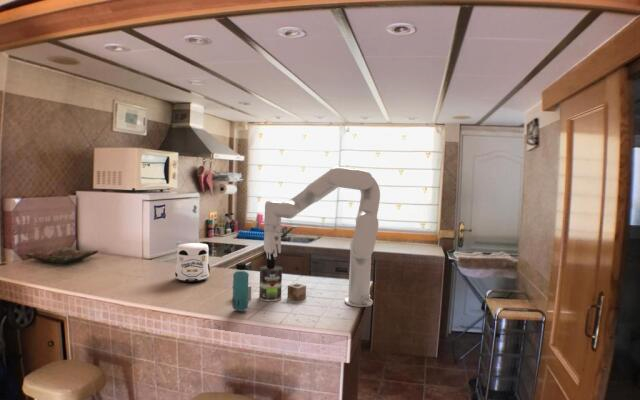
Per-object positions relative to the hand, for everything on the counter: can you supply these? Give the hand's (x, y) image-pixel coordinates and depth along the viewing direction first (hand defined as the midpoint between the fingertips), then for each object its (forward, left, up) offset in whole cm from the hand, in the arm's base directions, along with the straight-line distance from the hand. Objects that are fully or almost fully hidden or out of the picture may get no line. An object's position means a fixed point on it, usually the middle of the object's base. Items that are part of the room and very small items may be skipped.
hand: (270, 267), depth 177 cm
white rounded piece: (+43, +26, -14) cm, 52 cm away
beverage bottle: (-11, +18, -14) cm, 25 cm away
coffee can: (0, 0, -14) cm, 14 cm away
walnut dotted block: (-5, -11, -14) cm, 19 cm away
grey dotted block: (+5, +11, -14) cm, 18 cm away
